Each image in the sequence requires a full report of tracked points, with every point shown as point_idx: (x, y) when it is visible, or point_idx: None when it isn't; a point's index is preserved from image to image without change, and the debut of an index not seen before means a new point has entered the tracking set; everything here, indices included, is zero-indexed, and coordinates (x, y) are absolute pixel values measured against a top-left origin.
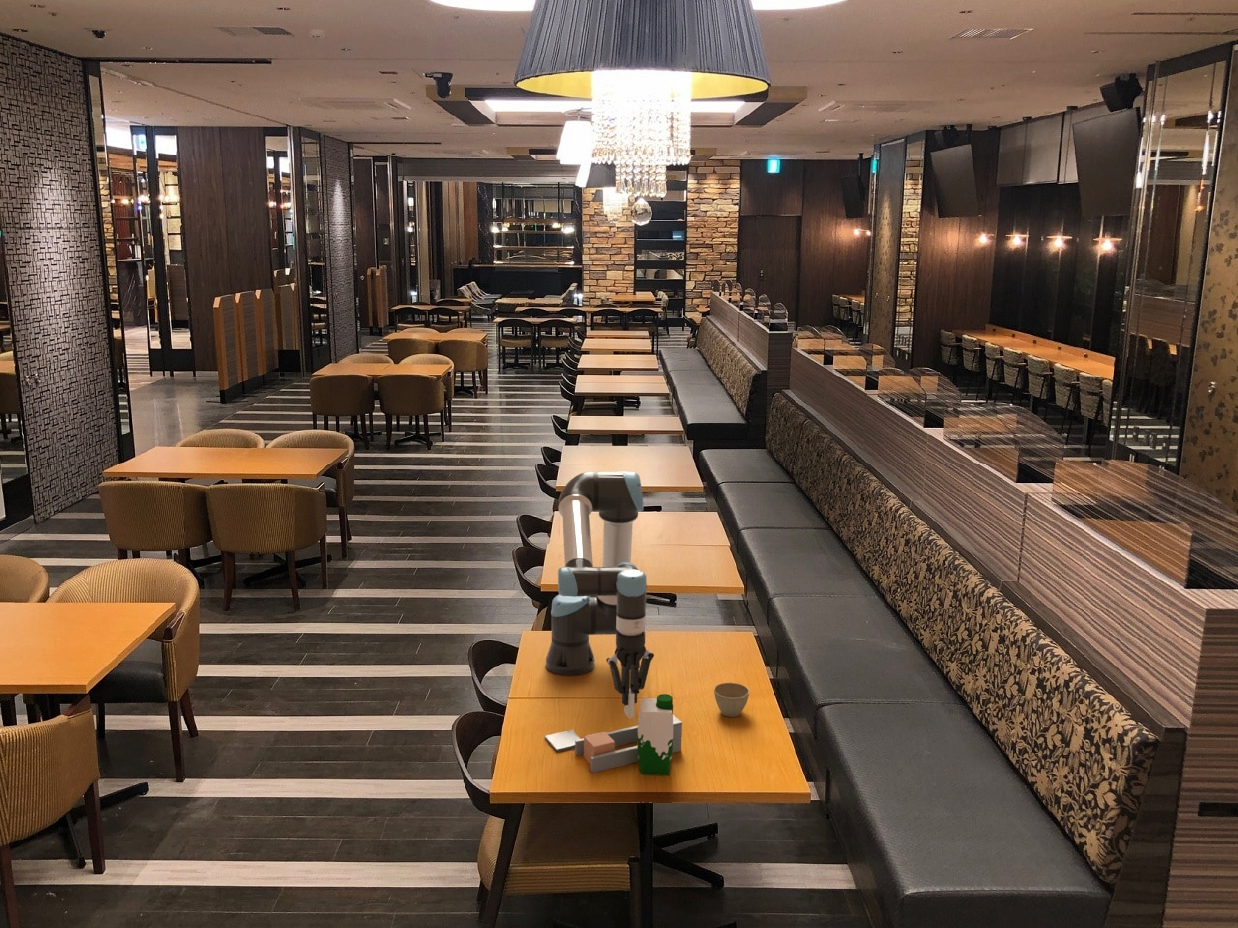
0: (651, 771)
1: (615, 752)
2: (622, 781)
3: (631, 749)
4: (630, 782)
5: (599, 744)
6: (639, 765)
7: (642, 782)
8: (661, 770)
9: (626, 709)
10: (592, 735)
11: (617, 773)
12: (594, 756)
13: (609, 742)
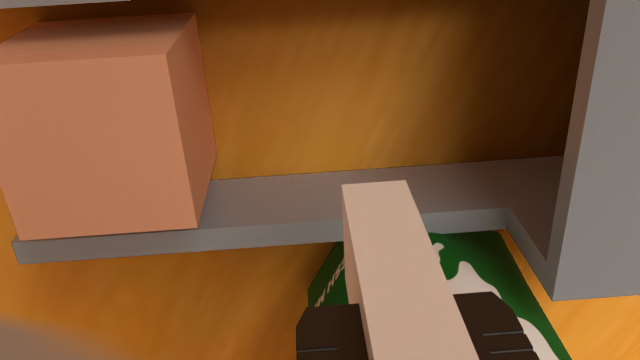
0: None
1: (191, 244)
2: (195, 317)
3: (306, 242)
4: (230, 334)
5: (69, 225)
6: (308, 305)
7: (284, 348)
8: None
9: (350, 269)
10: (38, 84)
11: (194, 254)
12: (38, 245)
13: (153, 222)
